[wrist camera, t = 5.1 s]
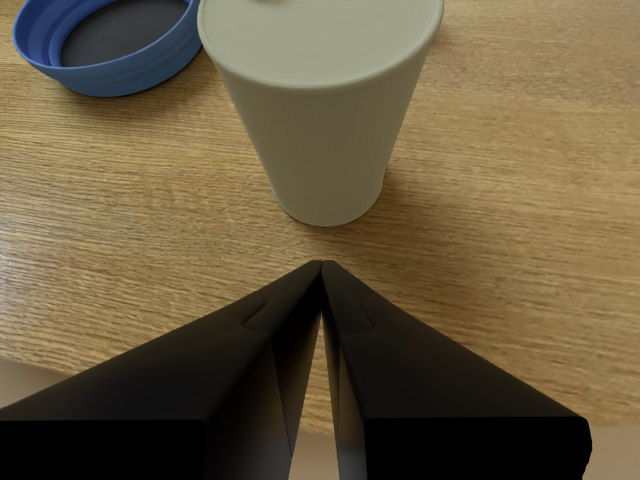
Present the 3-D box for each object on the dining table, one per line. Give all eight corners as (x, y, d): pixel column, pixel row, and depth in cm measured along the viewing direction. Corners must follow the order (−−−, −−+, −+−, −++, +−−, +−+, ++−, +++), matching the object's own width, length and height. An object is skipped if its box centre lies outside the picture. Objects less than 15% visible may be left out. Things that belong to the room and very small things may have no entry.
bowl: (220, 82, 24) (201, 43, 20) (40, 121, 23) (-9, 88, 20) (208, -21, 29) (191, -65, 26) (63, 9, 29) (28, -31, 26)
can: (300, 118, 22) (265, -102, 10) (398, 150, 20) (483, -71, 9) (251, 202, 19) (132, 33, 8) (357, 245, 18) (401, 112, 6)
